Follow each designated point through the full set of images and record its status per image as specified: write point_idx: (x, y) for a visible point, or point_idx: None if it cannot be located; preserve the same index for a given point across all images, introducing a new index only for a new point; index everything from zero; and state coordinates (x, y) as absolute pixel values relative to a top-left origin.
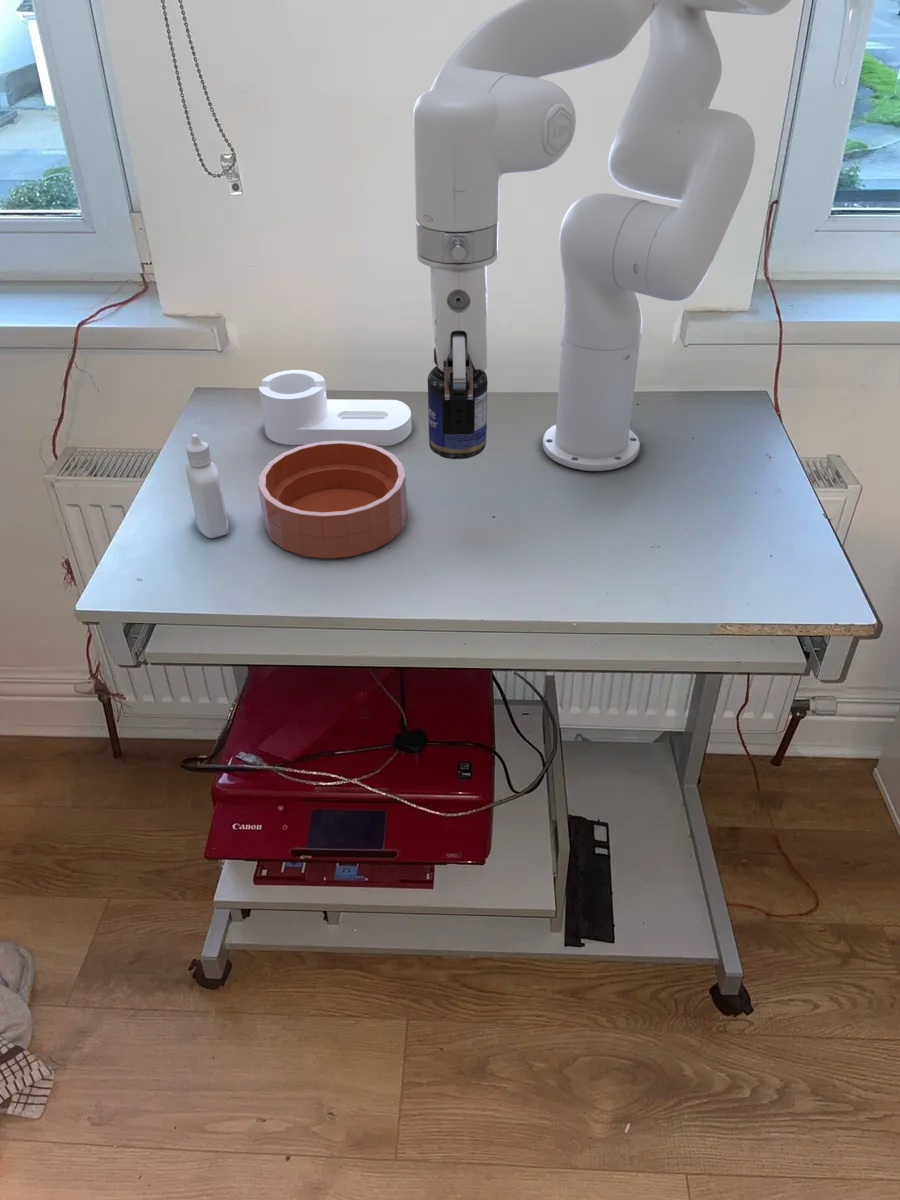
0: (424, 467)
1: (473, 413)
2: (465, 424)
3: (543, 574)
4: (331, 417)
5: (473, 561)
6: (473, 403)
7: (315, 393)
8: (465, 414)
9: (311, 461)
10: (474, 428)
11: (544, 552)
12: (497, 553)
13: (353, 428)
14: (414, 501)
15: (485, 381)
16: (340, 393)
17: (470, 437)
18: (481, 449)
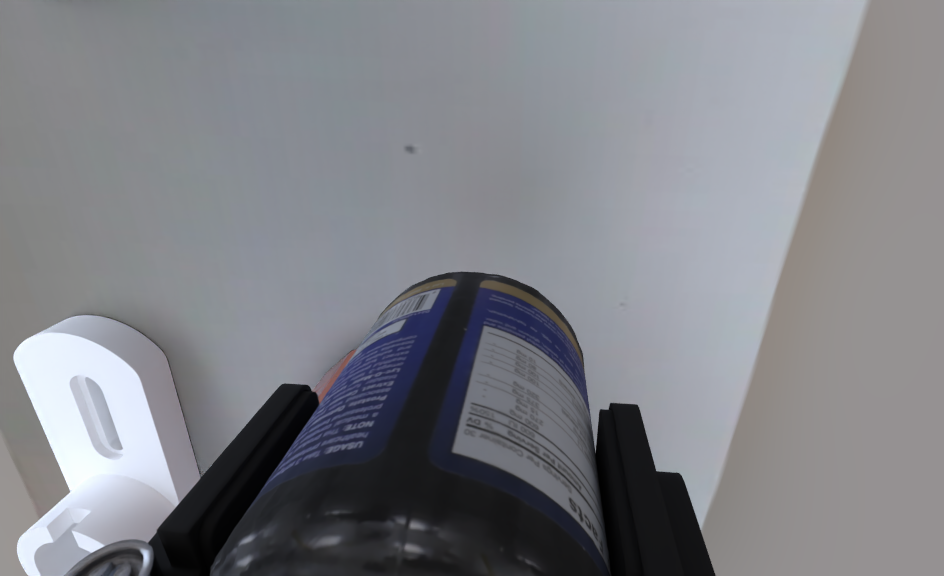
0: (230, 293)
1: (661, 491)
2: (684, 490)
3: (663, 28)
4: (125, 468)
5: (588, 203)
6: (672, 550)
7: (101, 542)
8: (703, 545)
9: None
10: (639, 416)
11: (564, 20)
12: (560, 146)
13: (153, 435)
14: (361, 315)
15: (470, 532)
16: (10, 432)
17: (581, 382)
18: (539, 295)
